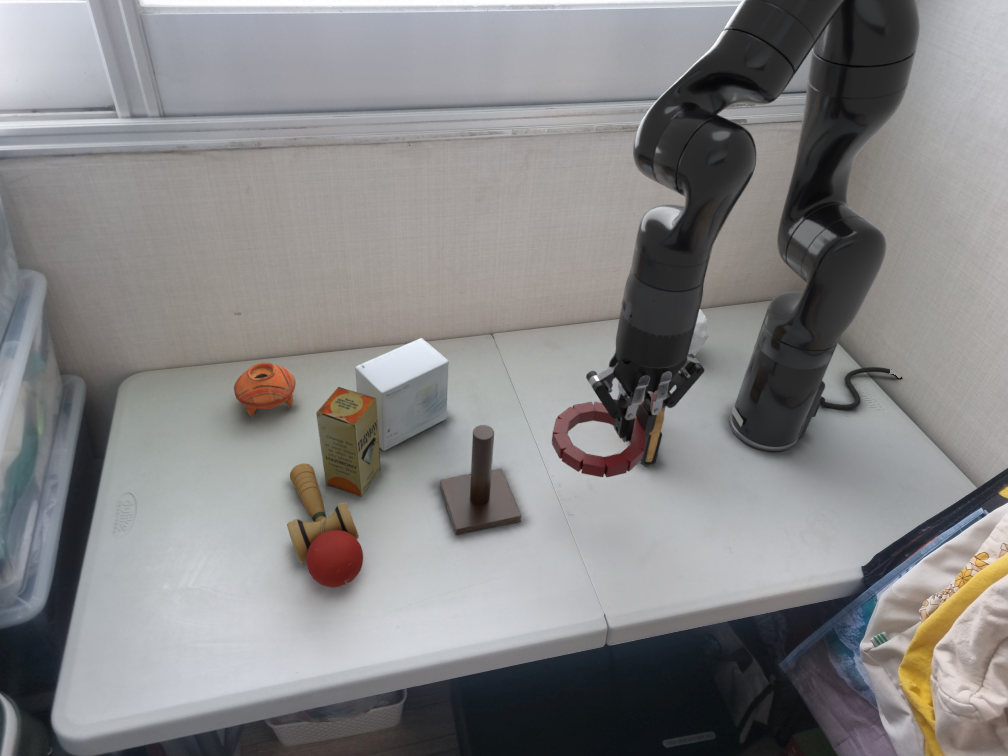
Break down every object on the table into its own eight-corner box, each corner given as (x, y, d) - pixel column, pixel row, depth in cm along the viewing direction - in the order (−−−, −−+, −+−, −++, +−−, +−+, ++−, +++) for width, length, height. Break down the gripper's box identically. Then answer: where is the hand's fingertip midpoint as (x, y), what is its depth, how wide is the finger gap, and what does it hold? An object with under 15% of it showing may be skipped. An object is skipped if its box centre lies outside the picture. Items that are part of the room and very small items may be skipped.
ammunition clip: (655, 463, 100) (674, 394, 93) (642, 464, 100) (659, 395, 92) (631, 408, 108) (647, 341, 101) (619, 409, 108) (633, 342, 100)
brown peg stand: (501, 473, 97) (506, 403, 90) (520, 521, 92) (528, 450, 84) (439, 485, 95) (440, 414, 88) (456, 535, 89) (458, 463, 82)
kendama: (266, 501, 93) (303, 606, 80) (267, 458, 90) (305, 560, 77) (329, 491, 97) (374, 590, 83) (332, 450, 94) (379, 545, 80)
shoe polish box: (325, 484, 94) (316, 412, 86) (345, 457, 98) (338, 386, 90) (361, 496, 93) (355, 425, 85) (380, 469, 97) (376, 398, 89)
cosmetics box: (385, 453, 99) (381, 392, 92) (357, 426, 102) (352, 365, 96) (449, 419, 104) (450, 359, 98) (421, 394, 108) (420, 335, 101)
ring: (620, 405, 91) (622, 395, 90) (658, 466, 84) (661, 456, 83) (539, 421, 89) (540, 410, 88) (572, 485, 81) (574, 474, 80)
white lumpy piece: (716, 317, 111) (639, 334, 109) (707, 362, 117) (634, 378, 115) (696, 293, 116) (622, 308, 114) (689, 338, 121) (618, 353, 119)
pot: (274, 432, 100) (256, 391, 96) (234, 420, 104) (215, 380, 100) (315, 397, 105) (299, 356, 102) (274, 387, 109) (258, 347, 105)
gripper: (611, 343, 72) (589, 470, 83) (739, 321, 75) (701, 446, 86) (581, 298, 77) (564, 423, 88) (701, 280, 81) (671, 403, 92)
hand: (632, 434), depth 87 cm, fingers closed on ring, 1 cm apart
